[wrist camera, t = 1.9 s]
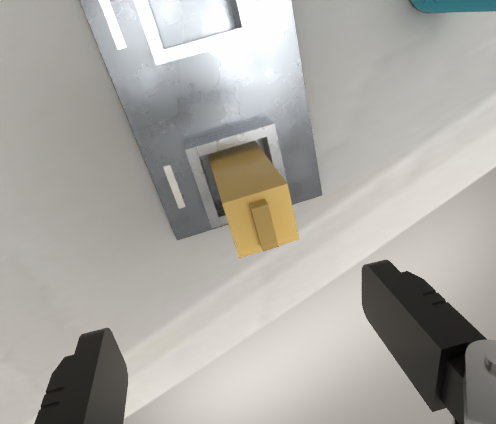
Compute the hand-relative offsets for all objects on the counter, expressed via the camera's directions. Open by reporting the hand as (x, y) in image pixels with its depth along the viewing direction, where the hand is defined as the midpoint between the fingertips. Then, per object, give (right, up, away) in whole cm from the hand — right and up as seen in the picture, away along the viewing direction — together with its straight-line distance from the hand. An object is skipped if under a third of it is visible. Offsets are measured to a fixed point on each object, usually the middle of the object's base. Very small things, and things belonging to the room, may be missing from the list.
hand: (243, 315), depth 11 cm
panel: (-3, +13, +17) cm, 22 cm away
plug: (-1, +7, +19) cm, 21 cm away
